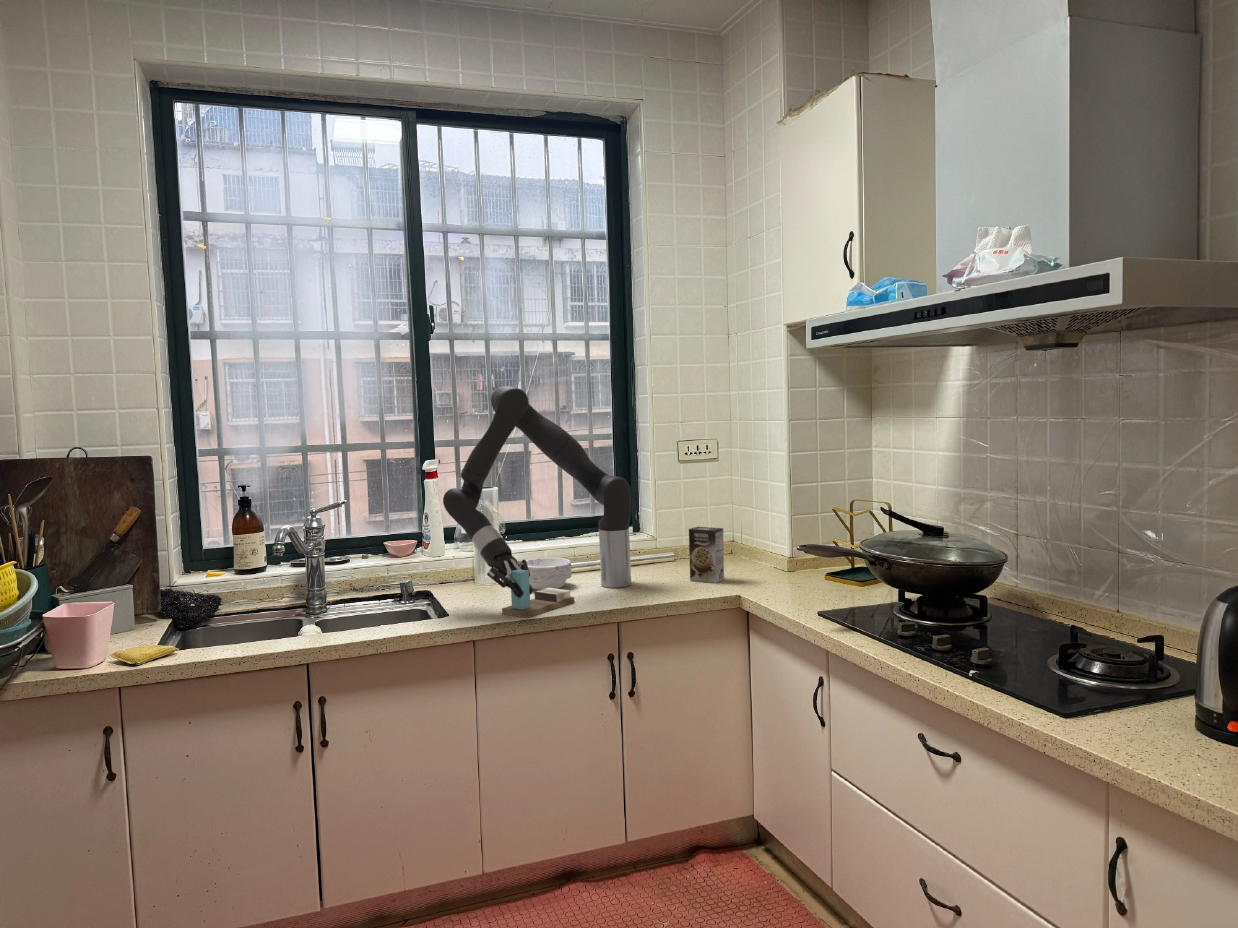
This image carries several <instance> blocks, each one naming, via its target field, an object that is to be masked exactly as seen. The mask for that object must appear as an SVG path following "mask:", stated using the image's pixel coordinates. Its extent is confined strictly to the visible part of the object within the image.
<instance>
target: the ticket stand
mask: <svg viewBox="0 0 1238 928" xmlns="http://www.w3.org/2000/svg"><path fill="white" fill-rule="evenodd" d="M533 592H534V598H530V608H527V609H524V610H520V609H514V608H512V605H509V606H506V607H502V608H501V613H502V615H505V616H512V617H518V616H519V618H525V619H528V618H531V617H534V616H536V615H541V614H543V613H546V612H550V611H553V610H555V608H556V609H558V608H560V607H564V606H568V605H569V604H570V603H571V604H574V603H575V596H571V590H569V589H561V588H558V589H555V588H546V589H543V590H537V591H536V590H534V591H533ZM530 616H531V617H530Z"/></svg>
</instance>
